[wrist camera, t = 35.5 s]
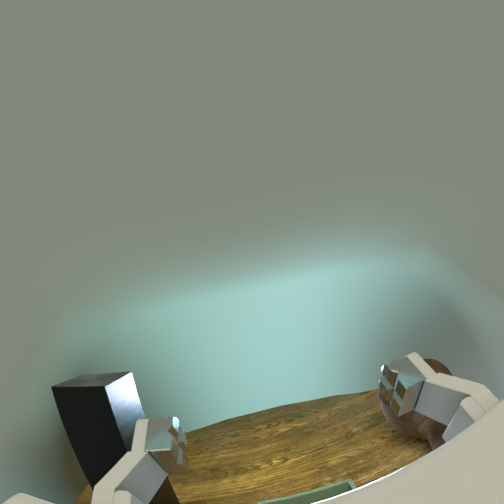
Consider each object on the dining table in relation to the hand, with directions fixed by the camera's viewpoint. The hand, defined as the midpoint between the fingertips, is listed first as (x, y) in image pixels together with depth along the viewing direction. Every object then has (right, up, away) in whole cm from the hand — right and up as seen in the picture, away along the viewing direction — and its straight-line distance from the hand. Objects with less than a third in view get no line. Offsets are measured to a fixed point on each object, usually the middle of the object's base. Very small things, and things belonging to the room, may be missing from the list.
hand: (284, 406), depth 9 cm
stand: (-15, -46, +15) cm, 51 cm away
